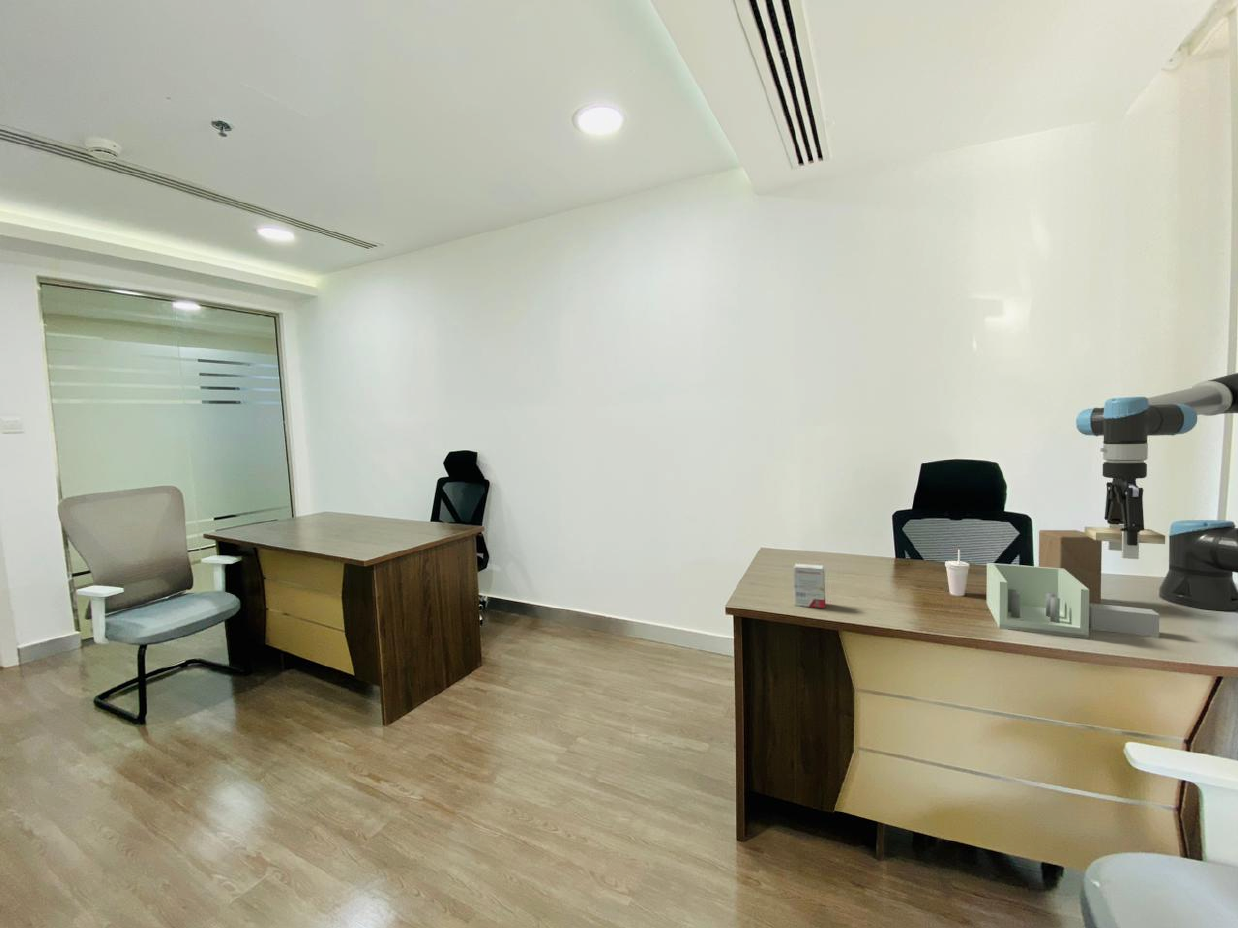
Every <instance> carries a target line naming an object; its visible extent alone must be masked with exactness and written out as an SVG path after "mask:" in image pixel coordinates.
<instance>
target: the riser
mask: <svg viewBox="0 0 1238 928" xmlns="http://www.w3.org/2000/svg"><path fill="white" fill-rule="evenodd" d="M1089 629H1090V630H1091V631H1092V630H1093V631H1099V632H1100V631H1101V632H1108V633H1109V632H1110V633H1119V634H1127V635H1135V636H1143V637H1151V638H1157V639H1158V638H1160V613H1158V612H1157V611H1155V610H1154V609H1152V608H1141V607H1133V606H1132V607H1131V606H1121V605H1111V604H1110V605H1109V604H1092V603H1089Z"/></svg>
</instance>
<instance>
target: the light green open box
mask: <svg viewBox="0 0 1238 928" xmlns="http://www.w3.org/2000/svg"><path fill="white" fill-rule="evenodd" d="M986 605H987V608H988V609H989V611H990V612H991V615H992V617H993V618H994V620H995V622H996V624H997V626H998V628H999V629H1005V630H1013V631H1019V632H1027V633H1028V632H1030V633H1035V634H1043V635H1053V636H1060V637H1066V638H1067V637H1068V638H1074V639H1075V638H1077V639H1082V640H1089V639H1090V638H1089V634H1090V633H1089V632H1090V631H1089V629H1090V628H1089V589H1088V588H1087V587H1085V586H1084V585H1083V584H1082V583H1081V582H1079V581H1078V580H1077V579H1076V578H1075V577H1073V576H1072V575H1071V574H1070V573H1069V572H1067V571H1066V570H1065V569H1062V568H1049V567H1039V566H1035V565H1034V566H1033V565H1032V566H1031V565H1021V564H1007V563H995V562H986Z"/></svg>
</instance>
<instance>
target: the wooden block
mask: <svg viewBox="0 0 1238 928" xmlns="http://www.w3.org/2000/svg"><path fill="white" fill-rule="evenodd" d="M1102 542H1103V541H1095V540H1094V539H1092V538H1090V537H1088V536H1087V535H1085V531H1084V532H1083V531H1080V530H1076V529H1069V530H1068V529H1066V530H1065V529H1059V530H1058V529H1040V530H1039V531H1038V567H1049V568H1062V569H1065V570H1066V571H1067V572H1069V573H1070V574H1071V575H1072V576H1073V577H1075V578H1076V579H1077V580H1078V581H1079V582H1081V583H1082V584H1083V585H1084V586H1085V587H1087V588H1088V589H1089V603H1092V604H1101V602H1102V557H1103V555H1102V552H1103V551H1102V549H1103V544H1102Z"/></svg>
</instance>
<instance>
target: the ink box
mask: <svg viewBox="0 0 1238 928" xmlns="http://www.w3.org/2000/svg"><path fill="white" fill-rule="evenodd" d="M825 573H826V572H825V565H819V564H804V563H794V564H793V605H794V606H797V607H806V608H817V609H825V608H826V583H825V582H826V581H825V580H826V578H825V577H826V575H825Z"/></svg>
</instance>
